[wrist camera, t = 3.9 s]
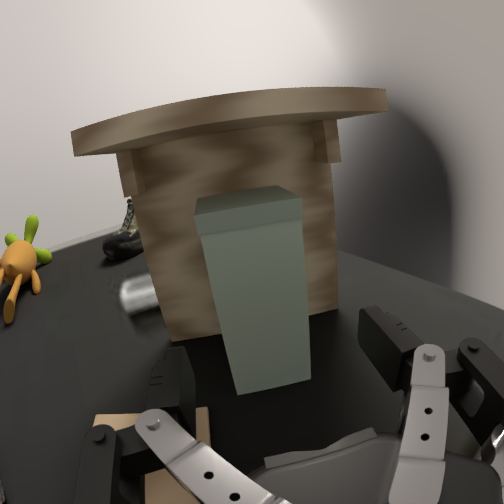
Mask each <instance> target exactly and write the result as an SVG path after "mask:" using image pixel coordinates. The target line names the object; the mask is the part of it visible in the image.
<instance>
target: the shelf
mask: <svg viewBox="0 0 504 504" xmlns="http://www.w3.org/2000/svg"><path fill="white" fill-rule="evenodd" d="M388 111H389V109H388V103H387V96H386V90H385V89H379V88H359V87H300V88H281V89H267V90H256V91H246V92H237V93H230V94H222V95H215V96H209V97H203V98H197V99H191V100H185V101H181V102H175V103H171V104H166V105H161V106H157V107H153V108H148V109H144V110H140V111H136V112H132V113H128V114H125V115H121V116H118V117H114V118H111V119H107V120H104V121H101V122H98V123H95V124H91V125H88V126H85V127H82V128H79V129H77V130H74V131H71V138H72V145H73V151H74V156H85V155H98V154H113V153H116V156H117V162H118V168H119V173H120V178H121V183H122V188H123V193H124V197H129V196H131V198H132V203H133V207H134V212H135V216H136V221H137V225H138V229H139V233H140V237H141V241H142V245H143V249H144V253H145V257H146V260H147V264H148V268H149V271H150V275H151V278H152V282H153V285H154V288H155V292H156V295H157V298H158V302H159V305H160V308H161V311H162V314H163V317H164V320H165V323H166V326H167V329H168V332H169V335H170V338H171V341H172V342H174V341H181V340H187V339H194V338H200V337H206V336H212V335H217V334H222V332H221V328H220V324H219V319H218V315H217V311H216V307H215V302H214V298H213V293H212V289H211V284H210V280H209V275H208V271H207V266H206V261H205V256H204V252H203V247H202V242H201V237H200V236H198V233H197V228H196V223H195V218H194V213H195V208H196V202H197V198H202V197H207V196H213V195H219V194H224V193H230V192H236V191H242V190H248V189H254V188H261V187H267V186H274V185H278V186H280V187H282V188H284V189H286V190H288V191H290V192H292V193H294V194H296V195H298V196H299V197H301V198H302V206H303V216H304V217H303V218H301V221H302V232H303V244H304V256H305V269H306V283H307V298H308V315H313V314H318V313H322V312H326V311H330V310H334V309H338V284H337V248H336V229H335V228H336V227H335V212H334V197H333V185H332V173H331V163H336V162H341V155H340V145H339V136H338V128H337V119H342V118H349V117H355V116H361V115H368V114H374V113H382V112H388Z"/></svg>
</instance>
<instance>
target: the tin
mask: <svg viewBox="0 0 504 504" xmlns="http://www.w3.org/2000/svg"><path fill="white" fill-rule="evenodd" d="M303 217H304V216H303V206H302V198H301V197H299V196H298V195H296V194H294V193H292V192H290V191H288V190H286V189H284V188H282V187H280V186H278V185H274V186H267V187H261V188H254V189H248V190H242V191H236V192H230V193H224V194H219V195H213V196H207V197H202V198H197V202H196V208H195V213H194V218H195V223H196V228H197V233H198V236H200V237H201V242H202V247H203V252H204V256H205V261H206V266H207V271H208V275H209V280H210V284H211V289H212V293H213V298H214V302H215V307H216V311H217V315H218V319H219V324H220V328H221V332H222V336H223V340H224V344H225V348H226V353H227V356H228V360H229V364H230V368H231V372H232V376H233V380H234V384H235V387H236V391H237V395H241V394H246V393H252V392H257V391H262V390H266V389H271V388H275V387H280V386H284V385H288V384H293V383H297V382H301V381H304V380H308V379H311V361H310V336H309V315H308V298H307V283H306V269H305V256H304V244H303V232H302V221H301V218H303Z"/></svg>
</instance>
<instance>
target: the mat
mask: <svg viewBox="0 0 504 504" xmlns="http://www.w3.org/2000/svg"><path fill="white" fill-rule="evenodd" d="M140 414H142V413H137V414H105V415H96V418H95V421H94V425H93V427H94V426H96V425H99V424H106V425H110V426H111V427H112V428H114V430H115V431H116V430H120V429H123V428H126V427H129V426H132V425H134V424H135V422H136V419H137V418H138V416H139V415H140ZM196 441H198V442H199V441H202V442H204V443H205V444H206V445H208V446H209V447H210V448H211V439H210V426H209V411H208V408H207V407H201V408H196ZM145 504H198V503H197V502H196V501H195V499H194V498H193V497H192V496H191V495H190V494H189V493H188V492H187V491H186V490H185V489H184V488H183V487H182V486H181V485H180V484H179V483H178V482H177V481H176V480H175V479H174V478H173V477H172V476H171V475H170V474H169V473H168V472H167V471H166V470H165V468H164V469H161V470H158V471H155V472H152V473H149V474H145Z"/></svg>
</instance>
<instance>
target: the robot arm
mask: <svg viewBox="0 0 504 504" xmlns="http://www.w3.org/2000/svg"><path fill="white" fill-rule="evenodd" d="M358 341H359V345H360V347H361V348H362V350H363V351H364V353H365V354H366V355H367V357H368V358H369V359H370V361H371V362H372V364H373V365H374V366H375V368H376V369H377V370H378V372H379V373H380V375H381V376H382V377H383V379H384V380H385V382H386V383H387V384H388V386H389V387H390V389H391V390H392V392H396V391H398V390H401V389H402V390H403V391H404V394H403V398H402V403H401V408H400V413H399V418H398V423H397V427H396V431H395V433H387V432H382V433H375V431H374V430H373V428H372V427H370V428H367V429H364V430H362V431H359V432H356V433H353V434H350V435H348V436H346V437H344V438H342V439H341V440H339V441H337V442H335V443H334V444H332V445H330V446H328V447H327V448H325V449H322V450H313V451H294V452H288V453H284V454H279V455H274V456H270V457H265V458H264V461H265V465H263V466H261V467H259V468H257V469H255V470H253V471H252V472H251V473H249V474H248V475H247V476H245V475H244V474H243V473H241V472H240V471H239V470H237V469H236V468H235V467H233V466H232V465H231V464H230V463H228V462H227V461H226V460H225V459H223V458H222V457H221V456H220V455H218V454H217V453H216V452H215V451H213V450H212V449H211V448H210V447H209V446H208V445H206V444H205V443H204V442H202V441H199V442H198V441H196V383H195V376H194V372H193V369H192V366H191V363H190V360H189V357H188V355H187V352H186V349H185V347H184V346H178V347H171V348H167V352H166V359H165V360H158V361H157V363H156V364H155V366H154V367H153V368H152V373H151V379H150V386H149V390H148V396H147V403H146V409H145V412H143V413H142V414H140V415H139V416H138V418H137V419H136V422H135V424H134V425H132V426H129V427H126V428H123V429H120V430H116V431H115V430H114V428H112V427H111V426H110V425H106V424H99V425H96V426H94V427H92V428H91V429H89V430H88V432H87V433H86V435H85V438H84V443H83V447H82V453H81V458H80V463H79V469H78V475H77V481H76V488H75V495H74V503H73V504H145V474H149V473H152V472H155V471H158V470H161V469H164V468H165V470H166V471H167V472H168V473H169V474H170V475H171V476H172V477H173V478H174V479H175V480H176V481H177V482H178V483H179V484H180V485H181V486H182V487H183V488H184V489H185V490H186V491H187V492H188V493H189V494H190V495H191V496H192V497H193V498H194V499H195V501H196V502H197V503H198V504H503V499H502V487H504V362H503V361H502V360H501V359H500V358H499V357H498V356H497V355H496V354H495V353H494V352H493V351H492V350H491V349H490V348H489V347H487V346H486V345H485V344H484V343H483V342H482V341H481V340H479V339H476V338H466V339H464V340H462V341H461V342H460V345H459V348H458V349H456V350H450V351H443V350H442V349H441V348H440V347H438V346H436V345H433V344H424V343H423V342H422V341H421V340H420V339H419V338H418V337H417V336H416V335H415V334H414V333H413V332H412V331H411V330H410V329H408V328H407V326H406V325H405V324H403V323H402V321H401V320H400V319H399V318H397V317H396V316H394V315H392V314H390V313H388V312H386V313H384V312H383V311H382V310H381V309H380V308H379V307H378V306H377V305H373V306H369V307H366V308H362V309H360V311H359V325H358ZM475 380H476V382H477V383H478V384H479V385H480V386H481V388H482V389H483V391H484V395H483V394H482V393H481V392H480V391H479V389H478V388H477V387H476V386H475V385H474V381H475ZM449 401H450V403H451V404H452V405H453V407H454V408H455V410H456V411H457V412H458V414H459V415H460V417H461V418H462V419H463V421H464V422H465V424H466V425H467V427H468V428H469V429H470V431H471V432H472V434H473V435H474V437H475V438H476V440H477V441H478V443H479V444H480V446H481V447H482V448H481V458H482V459H481V461H480V460H476V459H473V458H469V457H466V456H462V455H459V454H456V453H452V452H449V451H446V450H445V444H446V434H447V422H448V405H449Z"/></svg>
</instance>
